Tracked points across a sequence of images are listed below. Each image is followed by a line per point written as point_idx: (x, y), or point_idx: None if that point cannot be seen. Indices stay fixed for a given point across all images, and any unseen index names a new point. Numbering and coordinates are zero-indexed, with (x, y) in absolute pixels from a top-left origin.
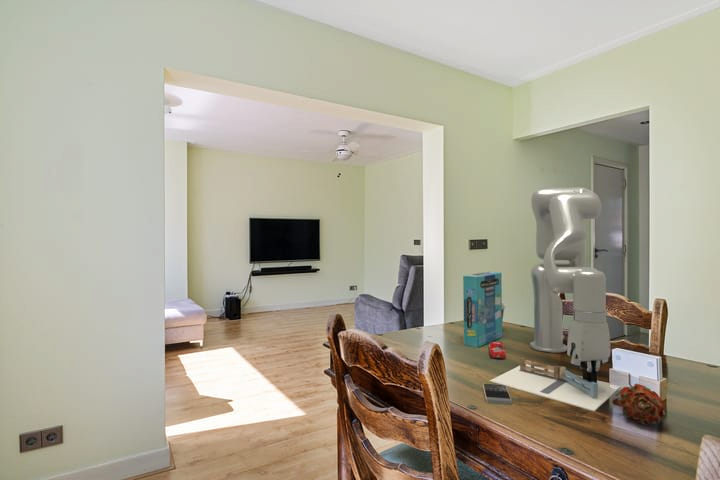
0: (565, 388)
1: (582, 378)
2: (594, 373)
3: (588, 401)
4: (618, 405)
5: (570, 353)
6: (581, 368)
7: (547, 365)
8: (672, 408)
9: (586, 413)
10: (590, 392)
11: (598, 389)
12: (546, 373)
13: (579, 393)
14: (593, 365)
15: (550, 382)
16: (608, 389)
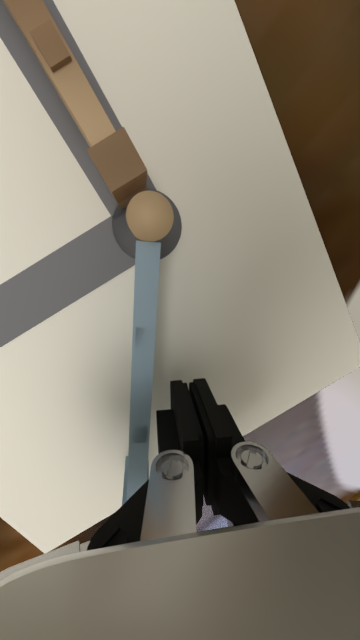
0: (75, 343)
1: (146, 428)
2: (207, 501)
3: (82, 488)
4: None
5: (17, 610)
6: (155, 467)
7: (61, 67)
8: None
9: (5, 556)
10: (125, 469)
11: (234, 382)
12: (69, 111)
13: (104, 411)
14: (249, 520)
15: (38, 238)
16: (277, 389)
